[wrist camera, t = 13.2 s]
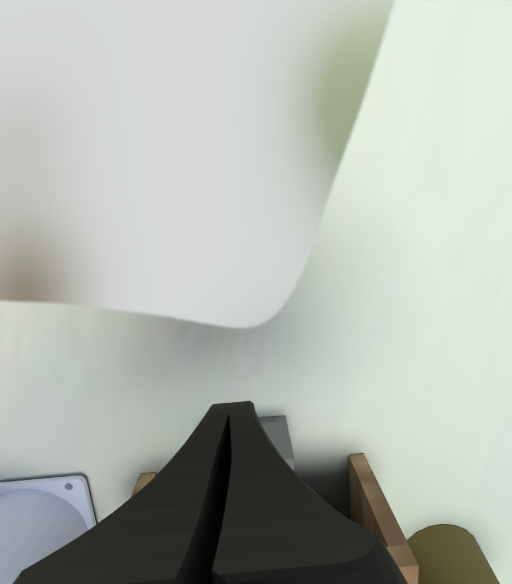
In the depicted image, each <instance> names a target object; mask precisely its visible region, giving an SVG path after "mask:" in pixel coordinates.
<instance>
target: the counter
mask: <svg viewBox="0 0 512 584" xmlns="http://www.w3.org/2000/svg"><path fill="white" fill-rule="evenodd" d="M155 476H156V472H154V473H142V474H140V477H139V479H138V482H137V484H136V487H135V489H134V492H133V494H132V496H131V497H133V496H134V495H135V494H136V493H137V492H139V491H140V490H141V489H142V488H143V487H144V486H146V485H147V484H148V483H149V482H150V481H151V480H152V479H153V478H154V477H155ZM349 489H350V520H352V521H353V522H355V523H357V524H358V525H360V526H361V527H363V528H365V529H366V530H368V531H369V532H371V533H373V534H374V535H376V536H377V537H379V538H380V539H381V540H382V542H383V543H384V545H385V546H386V548H387V549H388V551H389V553H390V554H391V556H392V557H393V559H394V560H395V562H396V564H397V565H398V567H399V569H400V571H401V572H402V574H403V576H404V578H405V579H406V581H407V583H408V584H418V571H419V565H418V563H417V561H416V559H415V557H414V555H413V553H412V551H411V549H410V547H409V545H408V543H407V541H406V539H405V537H404V535H403V533H402V531H401V528H400V526H399V524H398V522H397V520H396V518H395V516H394V514H393V512H392V510H391V508H390V506H389V504H388V502H387V500H386V498H385V496H384V494H383V492H382V490H381V488H380V486H379V484H378V482H377V480H376V478H375V476H374V474H373V472H372V470H371V468H370V466H369V464H368V462H367V460H366V458H365V455H364V453H363V454H352V455H349Z"/></svg>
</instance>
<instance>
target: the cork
mask: <svg viewBox="0 0 512 584" xmlns="http://www.w3.org/2000/svg"><path fill="white" fill-rule="evenodd" d="M407 543H408V545H409V547H410V549H411V551H412V553H413V555H414V557H415V559H416V561H417V563H418V565H419V571H418V584H500V583H499V582H498V580H497V578H496V576H495V574H494V572H493V571H492V569H491V567H490V565H489V563H488V561H487V560H486V558H485V556H484V554H483V552H482V551H481V549H480V547H479V545H478V543H477V541H476V540H475V538H474V536H473V535H472V534H470V533H469V532H468V531H467V530H466V529H463V528H461V527H458V526H456V525H446V524H440V525H435V526H430V527H427V528H425V529H423V530H421V531H418V532H417V533H415V534H414V535H413V536H412V537H411V538H409V539H408V540H407Z"/></svg>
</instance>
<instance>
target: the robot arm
mask: <svg viewBox="0 0 512 584" xmlns="http://www.w3.org/2000/svg"><path fill="white" fill-rule="evenodd" d="M68 483H70V484H72V485H69V484H68ZM0 584H408V583H407V581H406V579H405V578H404V576H403V574H402V572H401V571H400V569H399V567H398V565H397V564H396V562H395V560H394V559H393V557H392V556H391V554H390V553H389V551H388V549H387V548H386V546H385V545H384V543H383V542H382V540H381V539H380V538H379V537H377V536H376V535H374V534H373V533H371V532H369V531H368V530H366V529H365V528H363V527H361V526H360V525H358V524H357V523H355V522H353V521H352V520H350V519H349V518H347V517H346V516H344V515H343V514H341V513H340V512H339V511H337V510H336V509H335V508H333V507H332V506H331V505H330V504H328V503H327V502H326V501H325V500H324V499H323V498H322V497H320V496H319V495H318V494H317V493H316V492H315V491H314V490H312V489H311V488H310V487H309V486H308V485H307V484H306V483H305V482H304V481H303V480H302V479H301V478H300V477H299V476H298V475H297V474H296V473H295V471H294V470H293V469H292V468H291V467H290V466H289V465H288V463H287V462H286V461H285V460H284V458H283V457H282V456H281V454H280V453H279V452H278V450H277V449H276V448H275V446H274V445H273V443H272V442H271V440H270V439H269V437H268V435H267V434H266V432H265V430H264V429H263V427H262V425H261V423H260V421H259V419H258V417H257V414H256V412H255V408H254V404H253V403H252V402H251V401H244V402H233V403H222V404H213V405H212V406H211V407H210V408H209V410H208V412H207V413H206V415H205V416H204V418H203V419H202V420H201V422H200V423H199V425H198V426H197V428H196V429H195V430H194V432H193V433H192V434H191V436H190V437H189V438H188V440H187V441H186V442H185V444H184V445H183V446H182V447H181V448H180V450H179V451H178V452H177V453H176V454H175V455H174V457H173V458H172V459H171V460H170V461H169V462H168V464H167V465H166V466H165V467H164V468H163V469H162V470H161V471H160V472H159V473H158V474H157V475H156V476H155V477H154V478H153V479H152V480H151V481H150V482H149V483H148V484H147V485H146V486H144V487H143V488H142V489H141V490H140V491H139V492H137V493H136V494H135V495H134V496H133V497H131V498H130V499H129V500H128V501H126V502H125V503H124V504H123V505H122V506H120V507H119V508H118V509H117V510H116V511H114V512H113V513H112V514H110V515H109V516H107V517H106V518H105V519H103V520H102V521H101V522H99V523H98V524H96V521H95V516H94V512H93V508H92V503H91V499H90V494H89V490H88V485H87V481H86V479H85V478H84V477H82V476H67V477H56V478H45V479H34V480H23V481H11V482H0Z"/></svg>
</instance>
